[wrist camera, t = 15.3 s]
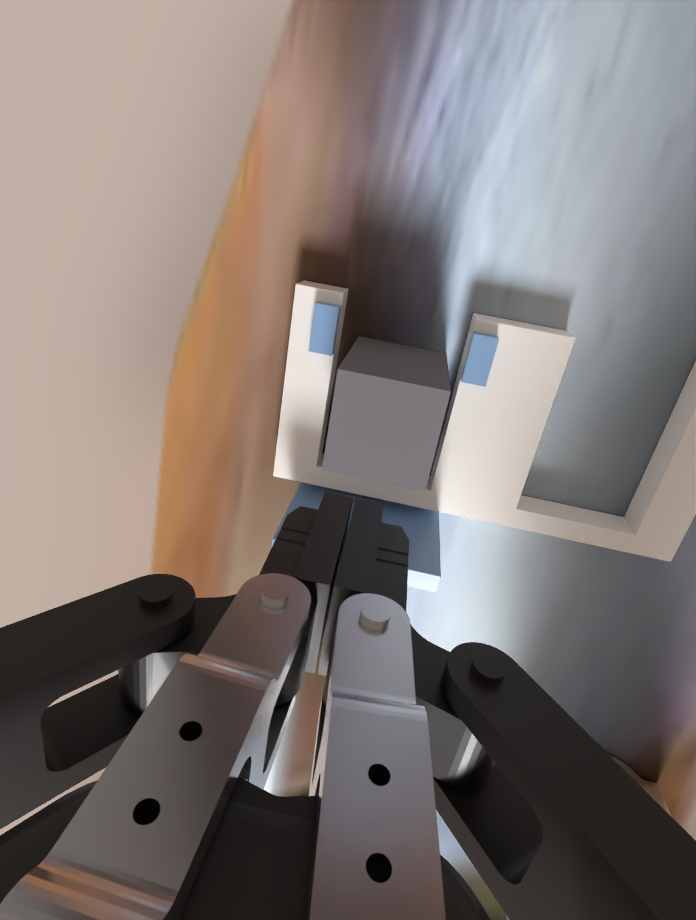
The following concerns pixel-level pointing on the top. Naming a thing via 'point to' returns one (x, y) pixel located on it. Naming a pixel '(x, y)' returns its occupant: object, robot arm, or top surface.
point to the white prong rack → (478, 442)
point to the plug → (387, 413)
